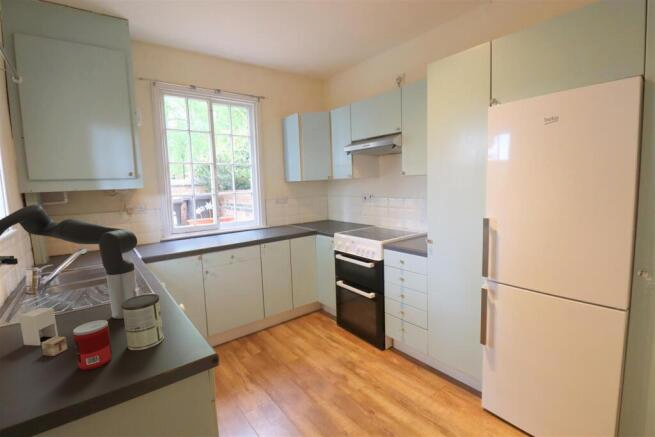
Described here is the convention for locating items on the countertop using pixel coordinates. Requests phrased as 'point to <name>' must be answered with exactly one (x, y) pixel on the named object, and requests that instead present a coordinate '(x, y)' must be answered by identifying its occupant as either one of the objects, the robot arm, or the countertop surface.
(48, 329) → the cover
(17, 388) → the countertop surface
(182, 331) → the countertop surface
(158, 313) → the coffee can
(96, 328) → the canned food
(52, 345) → the letter block
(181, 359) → the countertop surface
